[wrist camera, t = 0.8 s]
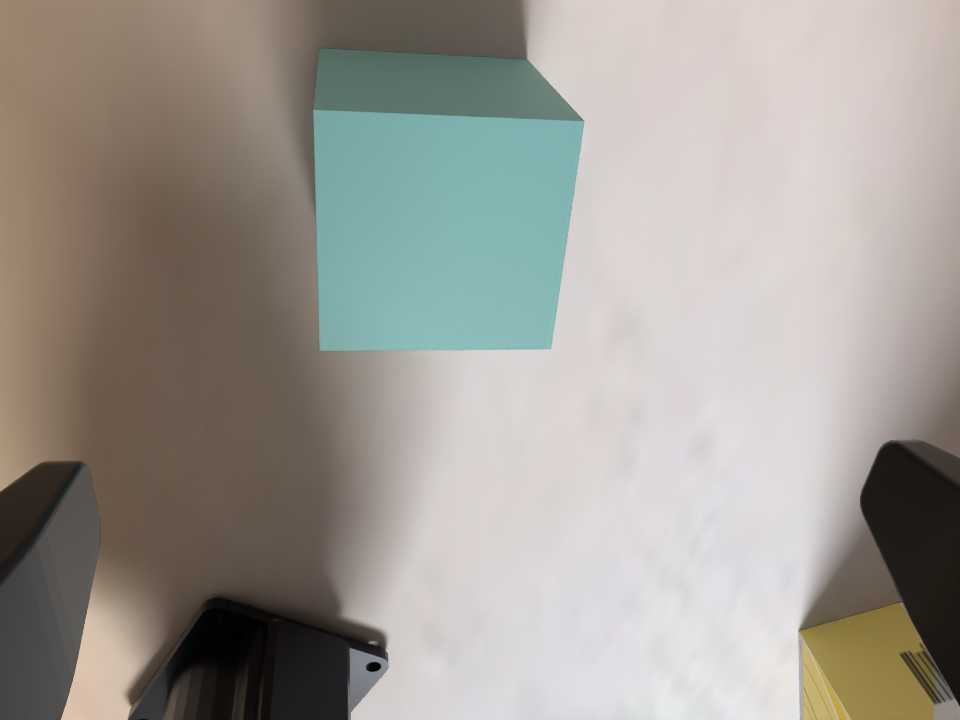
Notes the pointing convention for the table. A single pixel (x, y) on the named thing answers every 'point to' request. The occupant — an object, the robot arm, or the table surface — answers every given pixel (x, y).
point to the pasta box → (871, 671)
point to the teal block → (440, 201)
